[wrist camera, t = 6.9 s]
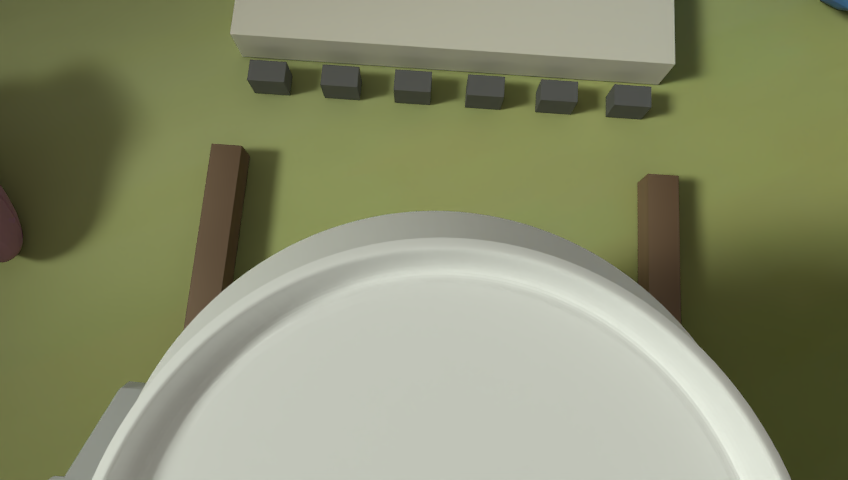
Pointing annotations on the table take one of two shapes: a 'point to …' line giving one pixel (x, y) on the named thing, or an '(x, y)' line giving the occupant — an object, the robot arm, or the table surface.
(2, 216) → the video game controller
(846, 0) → the grapes
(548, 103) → the brown bars cream slab
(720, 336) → the table surface
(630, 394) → the beverage can
